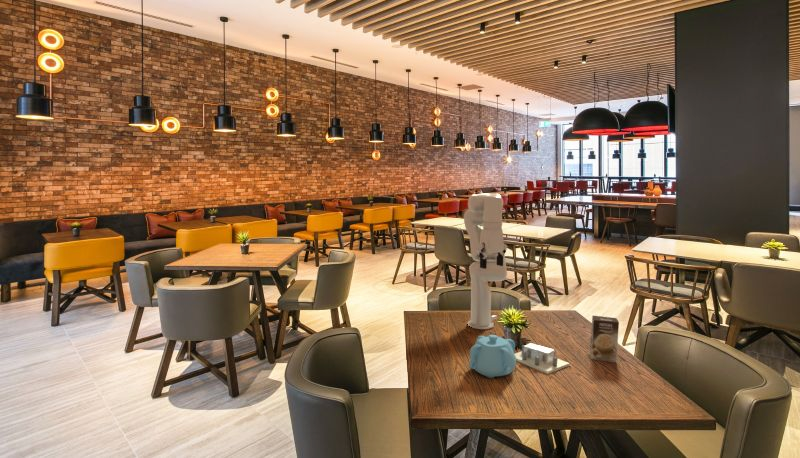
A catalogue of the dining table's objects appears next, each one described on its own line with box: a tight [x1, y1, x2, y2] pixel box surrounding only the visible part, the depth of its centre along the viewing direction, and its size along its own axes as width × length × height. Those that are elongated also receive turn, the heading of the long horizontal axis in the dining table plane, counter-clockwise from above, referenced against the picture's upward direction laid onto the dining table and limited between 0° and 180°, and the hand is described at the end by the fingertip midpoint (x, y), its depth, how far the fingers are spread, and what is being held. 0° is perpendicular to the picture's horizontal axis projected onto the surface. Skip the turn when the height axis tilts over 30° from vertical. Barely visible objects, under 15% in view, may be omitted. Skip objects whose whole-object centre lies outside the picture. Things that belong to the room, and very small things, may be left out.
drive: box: [524, 342, 555, 365], centre depth 168 cm, size 5×10×4 cm, turn 44°
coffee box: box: [589, 315, 620, 363], centre depth 171 cm, size 9×6×16 cm
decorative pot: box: [468, 334, 517, 379], centre depth 159 cm, size 16×16×14 cm
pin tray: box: [514, 344, 570, 375], centre depth 168 cm, size 13×18×4 cm
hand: (491, 266), depth 180 cm, fingers open, 9 cm apart
